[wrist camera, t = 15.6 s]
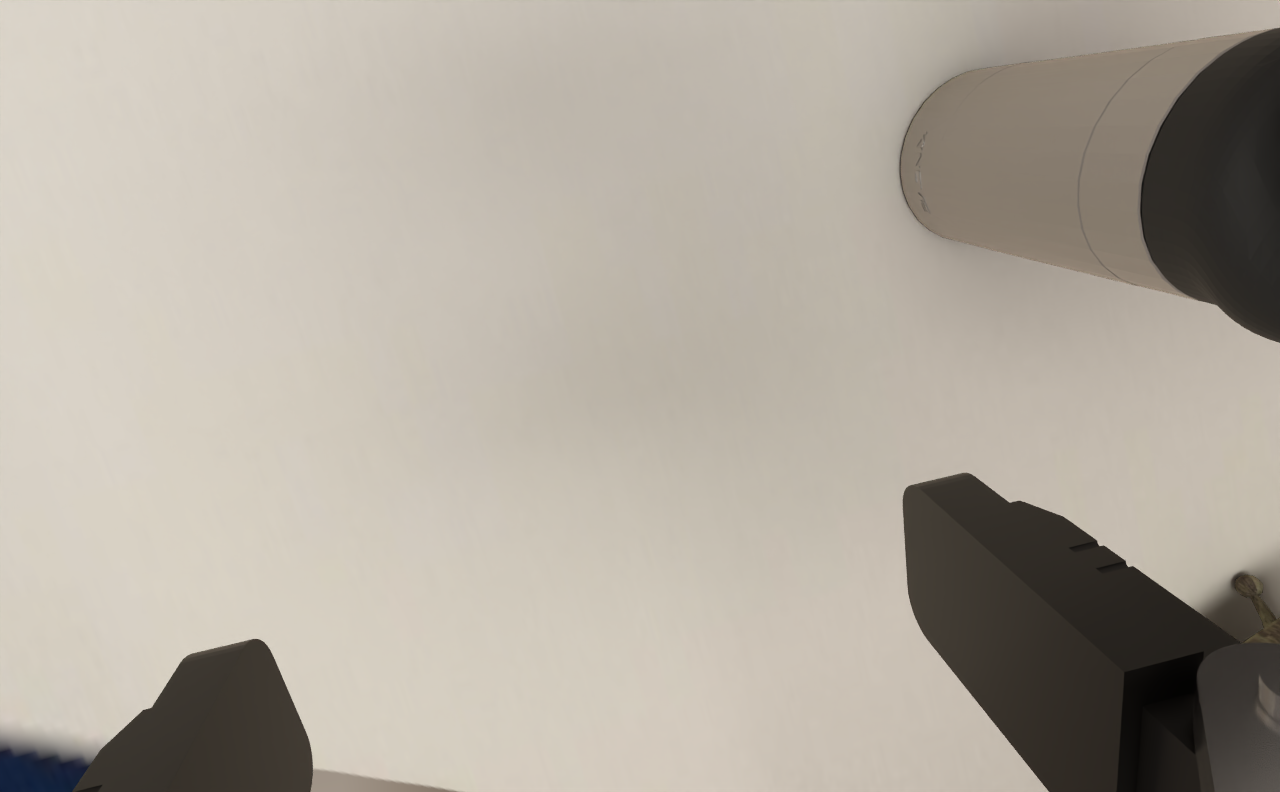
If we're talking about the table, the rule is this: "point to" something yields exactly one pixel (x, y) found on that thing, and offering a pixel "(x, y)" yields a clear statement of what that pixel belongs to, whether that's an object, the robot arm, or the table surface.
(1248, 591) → the tabletop clock
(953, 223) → the robot arm
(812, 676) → the table surface
